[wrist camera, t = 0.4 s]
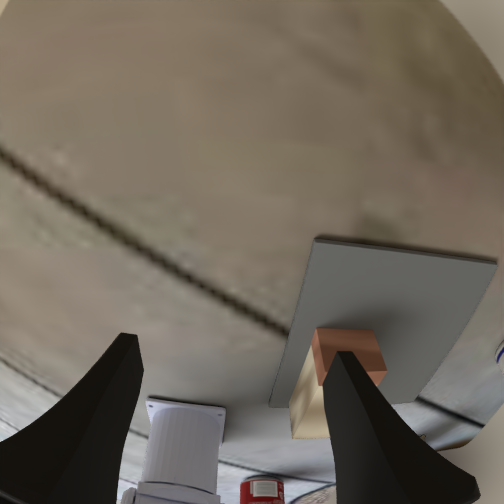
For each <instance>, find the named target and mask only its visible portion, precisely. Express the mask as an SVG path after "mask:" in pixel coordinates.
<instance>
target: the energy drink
mask: <svg viewBox="0 0 504 504" xmlns="http://www.w3.org/2000/svg"><path fill="white" fill-rule="evenodd" d="M495 360H496V362H497V364H498V366H499V367H500V369H501V371H502V373H503V375H504V341H503V342H502V343H501V344H500V346H499V347H498V349H497V351H496V355H495Z"/></svg>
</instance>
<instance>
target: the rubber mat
mask: <svg viewBox="0 0 504 504" xmlns="http://www.w3.org/2000/svg"><path fill="white" fill-rule="evenodd" d="M497 267H498V264H497V263H496V262H492V261H486V260H479V259H472V258H464V257H457V256H450V255H443V254H435V253H428V252H420V251H413V250H405V249H397V248H390V247H382V246H374V245H366V244H357V243H349V242H341V241H332V240H324V239H315V238H314V241H313V245H312V249H311V253H310V257H309V261H308V265H307V269H306V273H305V277H304V281H303V285H302V289H301V292H300V296H299V300H298V304H297V307H296V311H295V315H294V319H293V322H292V326H291V329H290V333H289V337H288V340H287V344H286V347H285V351H284V354H283V357H282V361H281V364H280V368H279V371H278V374H277V378H276V381H275V384H274V388H273V391H272V394H271V397H270V401H269V407H272V408H289V401H290V399H291V396H292V394H293V391H294V389H295V386H296V384H297V381H298V379H299V376H300V373H301V371H302V368H303V365H304V363H305V360H306V357H307V355H308V352H309V349H310V346H311V341H312V338H313V335H314V332H315V330H316V328H329V329H353V330H373V332H374V335H375V338H376V340H377V343H378V346H379V348H380V351H381V354H382V357H383V359H384V362H385V365H386V368H387V373H386V374H385V376H384V377H383V379H382V381H381V382H380V384H379V385H377V388H378V389H379V390H380V392H381V393H382V394H383V396H384V397H385V399H386V400H387V401H388V402H389V404H401V403H410V402H413V401H414V400H415V398H416V397H417V396H418V394H419V393H420V392H421V391H422V389H423V388H424V387H425V385H426V384H427V383H428V381H429V380H430V379H431V377H432V376H433V374H434V373H435V372H436V370H437V369H438V367H439V366H440V365H441V363H442V362H443V360H444V359H445V357H446V356H447V354H448V353H449V351H450V350H451V348H452V347H453V345H454V344H455V342H456V341H457V339H458V338H459V336H460V334H461V333H462V331H463V330H464V328H465V326H466V325H467V323H468V321H469V320H470V318H471V316H472V314H473V313H474V311H475V309H476V307H477V306H478V304H479V302H480V300H481V298H482V297H483V295H484V293H485V291H486V289H487V287H488V285H489V283H490V281H491V279H492V277H493V275H494V273H495V271H496V269H497Z"/></svg>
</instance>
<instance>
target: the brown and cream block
mask: <svg viewBox="0 0 504 504" xmlns="http://www.w3.org/2000/svg"><path fill="white" fill-rule="evenodd" d="M337 351H352V352H353V353H354V354H355V356H356V357H357V359H358V360H359V362H360V363H361V365H362V366H363V368H364V369H365V371H366V372H367V373H368V375H369V376H370V378H371V379H372V381H373V382H374V384H375V385H376V386H377V385H379V384H380V382H381V381H382V379H383V377H384V376H385V374H386V373H387V368H386V365H385V362H384V359H383V357H382V354H381V351H380V348H379V346H378V343H377V340H376V338H375V335H374V332H373V330H353V329H329V328H316V330H315V332H314V335H313V338H312V341H311V346H310V349H309V352H308V355H307V357H306V360H305V363H304V365H303V368H302V371H301V373H300V376H299V379H298V381H297V384H296V386H295V389H294V391H293V394H292V396H291V399H290V401H289V408H290V420H291V431H292V439H316V438H330V435H329V430H328V425H327V420H326V415H325V410H324V400H323V385H322V384H323V382H324V379H325V377H326V375H327V373H328V370H329V368H330V366H331V363H332V361H333V359H334V356H335V354H336V352H337Z"/></svg>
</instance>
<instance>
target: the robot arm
mask: <svg viewBox="0 0 504 504" xmlns="http://www.w3.org/2000/svg"><path fill="white" fill-rule="evenodd" d="M143 372H144V368H143V363H142V358H141V353H140V348H139V342H138V337H137V335H135V334H128V333H120V334H119V335H118V336H117V338H116V339H115V340H114V341H113V343H112V344H111V345H110V346H109V348H108V349H107V350H106V351H105V353H104V354H103V355H102V356H101V357H100V359H99V360H98V361H97V362H96V363H95V364H94V365H93V367H92V368H91V369H90V370H89V371H88V372H87V373H86V375H85V376H84V377H83V378H82V379H81V380H80V381H79V382H78V383H77V384H76V385H75V386H74V387H73V388H72V389H71V390H70V391H69V392H68V393H67V394H66V395H65V396H64V397H63V398H62V399H61V400H60V401H59V402H57V403H56V404H55V405H54V406H53V407H52V408H51V409H49V410H48V411H47V412H46V413H44V414H43V415H42V416H40V417H39V418H38V419H37V420H35V421H34V422H32V423H31V424H30V425H28V426H27V427H25V428H23V429H22V430H20V431H19V432H17V433H16V434H14V435H13V436H11V437H9V438H7V439H5V440H3V441H1V442H0V504H116V501H117V489H118V480H119V472H120V465H121V459H122V453H123V448H124V444H125V440H126V437H127V433H128V430H129V427H130V423H131V420H132V417H133V414H134V410H135V407H136V404H137V401H138V397H139V394H140V388H141V383H142V378H143ZM322 385H323V400H324V410H325V415H326V420H327V425H328V430H329V435H330V440H331V445H332V450H333V455H334V462H335V473H336V492H337V504H472V503H473V502H475V501H477V500H478V499H479V498H480V496H481V495H480V491H479V488H478V485H477V482H476V479H475V477H474V476H472V475H470V474H469V473H467V472H465V471H464V470H462V469H460V468H458V467H457V466H455V465H454V464H452V463H451V462H449V461H448V460H447V459H445V458H444V457H443V456H441V455H440V454H439V453H437V452H436V451H435V450H434V449H433V448H431V447H430V446H429V445H428V444H427V443H426V442H424V441H423V440H422V439H421V438H420V437H419V436H418V435H417V434H416V433H415V432H414V431H413V430H412V429H411V428H410V427H409V426H408V425H407V424H406V423H405V422H404V421H403V419H402V418H401V417H400V416H399V415H398V414H397V412H396V411H395V410H394V409H393V407H392V406H391V405H390V404H389V402H388V401H387V400H386V399H385V397H384V396H383V394H382V393H381V392H380V390H379V389H378V388H377V386H376V385H375V384H374V382H373V381H372V379H371V378H370V376H369V375H368V373H367V372H366V371H365V369H364V368H363V366H362V365H361V363H360V362H359V360H358V359H357V357H356V356H355V354H354V353H353V352H352V351H337V352H336V354H335V356H334V359H333V361H332V363H331V366H330V368H329V370H328V373H327V375H326V377H325V379H324V382H323V384H322ZM145 403H146V407H147V410H148V414H149V418H150V422H151V429H150V434H149V439H148V444H147V450H146V455H145V460H144V466H143V471H142V477H141V482H140V481H139V482H138V488H137V489H136V488H133V487H130V488H129V489H128V490H126V491H124V493H123V496H122V500H121V504H224V503H220V495H216V489H217V471H218V454H219V448H220V447H221V446H222V439H223V431H224V423H225V415H226V409H225V408H223V407H213V406H204V405H195V404H187V403H179V402H172V401H165V400H159V399H152V398H147V399H146V402H145Z"/></svg>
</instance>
